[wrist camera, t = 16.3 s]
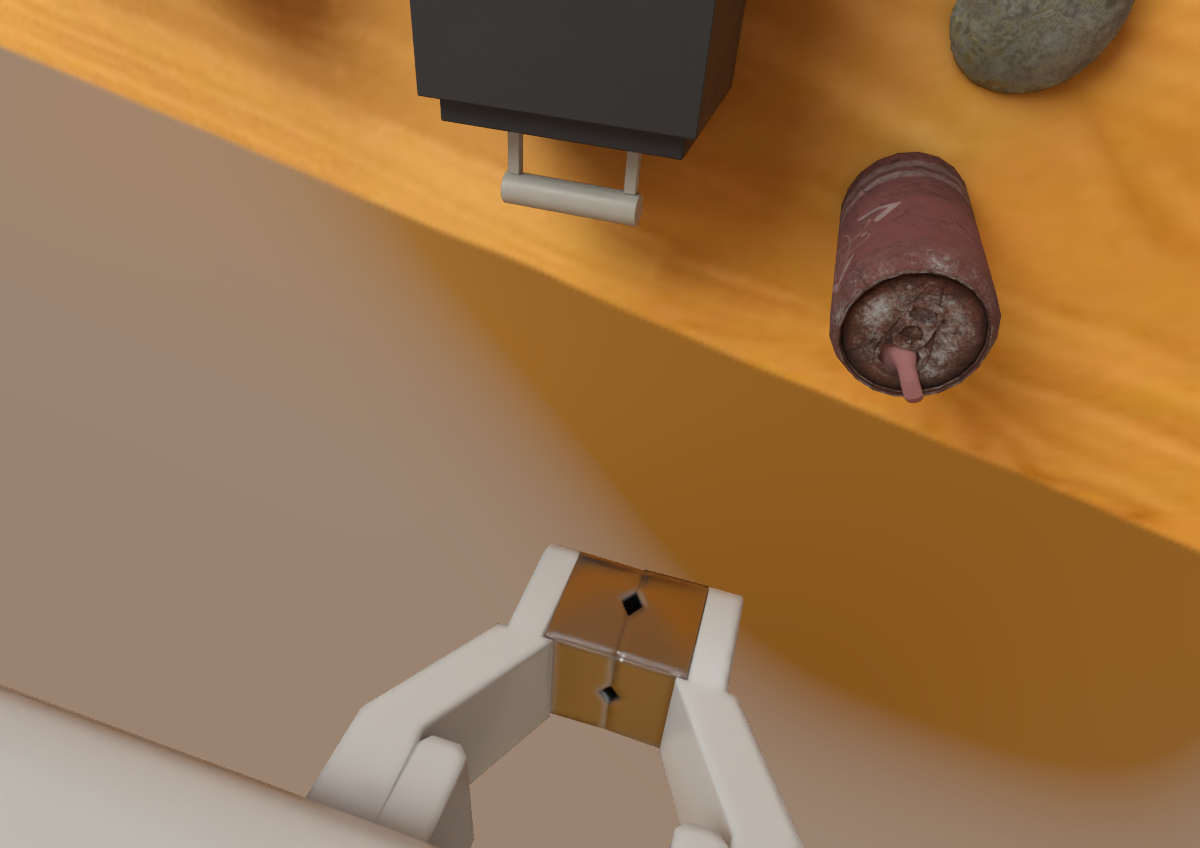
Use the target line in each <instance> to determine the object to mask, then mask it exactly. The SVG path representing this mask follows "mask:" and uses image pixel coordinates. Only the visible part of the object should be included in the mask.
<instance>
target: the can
mask: <svg viewBox="0 0 1200 848" xmlns="http://www.w3.org/2000/svg"><path fill="white" fill-rule="evenodd" d="M1000 319H1001V313H1000V309H999V304H998V300H997V295H996V291H995V288H994V284H993V281H992V277H991V274H990V270H989V267H988V263H987V260H986V256H985V253H984V249H983V246H982V242H981V239H980V235H979V232H978V228H977V225H976V221H975V218H974V214H973V211H972V207H971V204H970V200H969V197H968V193H967V190H966V186H965V183H964V181H963V180H962V178H961V177H960V175H959V174H958V173H957V171H956V170H955V168H954V167H952V166H951V165H949V164H948V163H947V162H945V161H944V160H942V159H941V158H939V157H937V156H933V155H929V154H925V153H921V152H909V153H897V154H894V155H891V156H889V157H886V158H883V159H880V160H878V161H876V162H875V163H873V164H872V165H871V166H869V167H868V168H866V169H865V170H864V171H862V172H861V173H860V174H859V175H858V177H857V178H856V179H855V180H854V182H853V183H852V184H851V185H850V187H849V188H848V190H847V193H846V195H845V198H844V201H843V203H842V206H841V215H840V225H839V235H838V245H837V254H836V264H835V274H834V284H833V293H832V303H831V313H830V335H829V336H830V339H831V342H832V345H833V348H834V351H835V354H836V356H837V357H838V359H839V360H840V361H841V362H842V364H843V365H844V366H845V367H846V368H847V370H848V371H849V372H850V373H851V374H852V375H853V376H854V377H855V378H856V379H857V380H858V381H860V382H862V383H863V384H865V385H866V386H868V387H869V388H871V389H872V390H875V391H878V392H882V393H885V394H888V395H892V396H899V397H904V398H905V399H906V400H907V401H908V402H910V403H917V402H919V401H921V400H922V399H923V396H926V395H931V394H935V393H940V392H942V391H945V390H947V389H949V388H951V387H953V386H955V385H957V384H959V383H961V382H962V381H964V380H965V379H966V378H967V377H968V376H969V375H970V374H972V373H973V372H974V371H975V370H976V369H977V368H978V367H979V366H980V364H981V362H982V361H983V360H984V359H985V358H986V356H987V354H988V353H989V351H990V349H991V348H992V346H993V344H994V343H995V341H996V339H997V335H998V330H999V324H1000Z"/></svg>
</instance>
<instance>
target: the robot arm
mask: <svg viewBox="0 0 1200 848" xmlns="http://www.w3.org/2000/svg"><path fill="white" fill-rule="evenodd" d="M707 591H708V592H707ZM742 607H743V597H742V596H739V595H736V594H732V593H728V592H725V591H721V590H718V589H714V588H709V589H708V586H705V585H701V584H698V583H694V582H690V581H686V580H682V579H678V578H675V577H671V576H667V575H663V574H660V573H656V572H652V571H648V570H641V569H637V568H634V567H631V566H627V565H624V564H621V563H618V562H614V561H611V560H607V559H604V558H601V557H598V556H595V555H591V554H588V553H585V552H581V551H577V550H574V549H570V548H567V547H564V546H560V545H557V544H553V543H551V544H550V545H549V546H548V547H547V548H546V550H545V551H544V553H543V555H542V557H541V559H540V561H539V563H538V565H537V567H536V569H535V571H534V573H533V575H532V577H531V579H530V581H529V583H528V585H527V588H526V590H525V592H524V594H523V596H522V598H521V600H520V602H519V604H518V606H517V608H516V610H515V612H514V614H513V616H512V618H511V620H510V622H509V624H508V626H506V625H502V624H497V625H495V626H494V627H492V628H490V629H489V630H487V631H485V632H484V633H482V634H480V635H479V636H477V637H476V638H474V639H472V640H471V641H469V642H467V643H466V644H464V645H463V646H461V647H459V648H458V649H456V650H454V651H453V652H451V653H449V654H448V655H447V656H445V657H443V658H441V659H440V660H438V661H436V662H435V663H433V664H432V665H430V666H428V667H427V668H425V669H423V670H422V671H420V672H418V673H417V674H415V675H414V676H412V677H410V678H409V679H407V680H405V681H404V682H402V683H401V684H399V685H397V686H396V687H394V688H392V689H391V690H389V691H388V692H386V693H384V694H383V695H381V696H379V697H378V698H376V699H374V700H373V701H371V702H370V703H368V704H366V705H365V706H363V707H362V708H361V709H360V711H359V712H358V714H357V716H356V717H355V719H354V720H353V722H352V724H351V725H350V727H349V728H348V730H347V732H346V733H345V735H344V736H343V738H342V740H341V741H340V743H339V745H338V746H337V748H336V749H335V751H334V752H333V754H332V756H331V757H330V759H329V761H328V762H327V764H326V766H325V767H324V769H323V770H322V772H321V774H320V775H319V777H318V778H317V780H316V781H315V783H314V785H313V786H312V788H311V790H310V791H309V793H308V794H307V796H306V797H303V796H300V795H297V794H295V793H292V792H289V791H287V790H284V789H281V788H278V787H276V786H273V785H270V784H268V783H265V782H262V781H260V780H257V779H254V778H251V777H249V776H246V775H243V774H241V773H238V772H235V771H233V770H230V769H227V768H225V767H222V766H219V765H217V764H214V763H211V762H208V761H206V760H203V759H200V758H198V757H195V756H192V755H189V754H187V753H184V752H181V751H179V750H176V749H173V748H171V747H168V746H165V745H163V744H160V743H157V742H155V741H152V740H149V739H147V738H144V737H141V736H138V735H136V734H133V733H130V732H127V731H125V730H122V729H120V728H117V727H114V726H112V725H109V724H106V723H103V722H101V721H98V720H95V719H93V718H90V717H87V716H85V715H82V714H79V713H76V712H74V711H71V710H68V709H66V708H63V707H60V706H58V705H55V704H52V703H50V702H47V701H44V700H42V699H39V698H36V697H33V696H31V695H28V694H25V693H23V692H20V691H17V690H15V689H12V688H9V687H7V686H4V685H1V684H0V848H471V846H472V843H473V841H474V833H473V821H472V810H471V799H470V787H469V785H470V784H471V783H472V782H473V781H474V780H475V779H477V778H478V777H479V776H480V775H481V774H483V773H484V772H485V771H486V770H487V769H488V768H490V767H491V766H492V765H493V764H494V763H496V762H497V761H498V760H499V759H500V758H501V757H503V756H504V755H505V754H506V753H507V752H509V751H510V750H511V749H512V748H513V747H514V746H516V745H517V744H518V743H519V742H520V741H521V740H523V739H524V738H525V737H526V736H527V735H528V734H530V733H531V732H532V731H533V730H534V729H536V728H537V727H538V726H539V725H540V724H542V723H543V722H544V721H545V720H546V719H547V718H548V717H550V713H552V714H556V715H559V716H563V717H566V718H570V719H573V720H576V721H579V722H583V723H586V724H590V725H593V726H597V727H600V728H603V729H606V730H609V731H612V732H615V733H618V734H620V735H623V736H626V737H629V738H632V739H635V740H637V741H640V742H643V743H646V744H649V745H652V746H655V747H657V748H660V749H659V752H660V756H661V760H662V764H663V767H664V771H665V774H666V778H667V782H668V785H669V789H670V793H671V796H672V800H673V803H674V807H675V811H676V814H677V818H678V821H679V825H680V826H679V827H677V828H676V829H675V831H674V834H673V838H672V841H671V844H670V848H804V846H803V844H802V841H801V839H800V837H799V835H798V832H797V830H796V828H795V826H794V823H793V821H792V819H791V816H790V814H789V812H788V810H787V807H786V805H785V803H784V801H783V798H782V797H781V794H780V792H779V789H778V787H777V785H776V783H775V780H774V778H773V776H772V774H771V771H770V769H769V767H768V765H767V762H766V760H765V758H764V755H763V753H762V751H761V749H760V746H759V744H758V742H757V740H756V737H755V735H754V733H753V731H752V728H751V726H750V724H749V721H748V719H747V717H746V715H745V713H744V710H743V708H742V706H741V703H740V701H739V699H738V697H737V696H736V695H733V694H730V693H727V690H728V684H729V679H730V673H731V668H732V662H733V657H734V651H735V646H736V640H737V634H738V629H739V624H740V618H741V613H742Z"/></svg>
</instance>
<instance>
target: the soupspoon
mask: <svg viewBox="0 0 1200 848" xmlns="http://www.w3.org/2000/svg"><path fill="white" fill-rule="evenodd" d="M1134 1H1135V0H957V1H956V5H955V6H954V8H953V11H952V13H951V19H950V40H951V50H952V52H953V55H954V59H955V61H956V62H957V64H958V65H959V67H960V68H961V70H962V71H963V73H964V74H966V75H967V77H968V78H969V79H970V80H971V81H972V82H974V83H976V84H978V85H979V86H982V87H984V88H987V89H990V90H992V91H996V92H1002V93H1030V92H1036V91H1041V90H1044V89H1047V88H1051V87H1053V86H1056V85H1058V84H1060V83H1062V82H1064V81H1066V80H1068V79H1070V78H1071V77H1073V76H1075V75H1076V74H1078V73H1080V72H1081V71H1082V70H1083V69H1084V68H1086V67H1087V66H1088V65H1089V64H1090V63H1092V62H1093V61H1094V60H1095V59H1096V58H1097V57H1098V56H1099V55H1100V54H1101V53H1102V52H1103V51H1104V49H1105V48H1106V47H1107V46H1108V45H1109V43H1110V42H1111V41H1112V40H1113V39H1114V37H1115V36H1116V35H1117V34H1118V32H1119V30H1120V28H1121V27H1122V26H1123V24H1124V22H1125V21H1126V19H1127V17H1128V15H1129V13H1130V10H1131V9H1132V6H1133V4H1134Z"/></svg>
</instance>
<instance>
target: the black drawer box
mask: <svg viewBox="0 0 1200 848" xmlns="http://www.w3.org/2000/svg"><path fill="white" fill-rule="evenodd" d="M745 2H746V0H410V7H411V19H412V31H413V43H414V56H415V68H416V80H417V92H418V95H419V96H424V97H430V98H436V99H443V100H449V101H455V102H461V103H468V104H474V105H480V106H487V107H493V108H499V109H505V110H512V111H518V112H524V113H530V114H537V115H543V116H549V117H556V118H562V119H568V120H574V121H581V122H587V123H593V124H599V125H606V126H612V127H618V128H625V129H631V130H637V131H643V132H650V133H656V134H662V135H668V136H675V137H681V138H687V139H694V140H695V139H697V137H698V136H699V134H700V133H701V131H702V130H703V128H704V127H705V125H706V124H707V122H708V121H709V119H710V118H711V116H712V115H713V113H714V112H715V110H716V109H717V107H718V106H719V104H720V103H721V101H722V100H723V99H724V97H725V96H726V94H727V93H728V91H729V89H730V88H731V86H732V80H733V74H734V68H735V62H736V56H737V50H738V44H739V38H740V32H741V26H742V20H743V14H744V8H745Z"/></svg>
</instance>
